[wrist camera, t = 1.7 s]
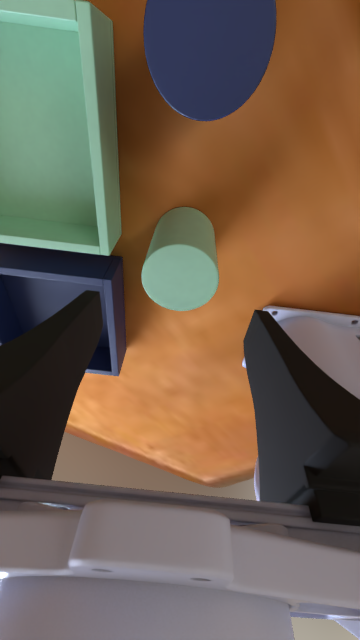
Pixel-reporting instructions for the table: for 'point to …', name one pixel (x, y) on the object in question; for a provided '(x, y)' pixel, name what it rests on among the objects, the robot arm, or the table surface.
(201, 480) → the table surface
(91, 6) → the mint tub
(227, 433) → the table surface
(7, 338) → the navy tub
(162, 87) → the navy peg
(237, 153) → the table surface
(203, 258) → the mint peg
